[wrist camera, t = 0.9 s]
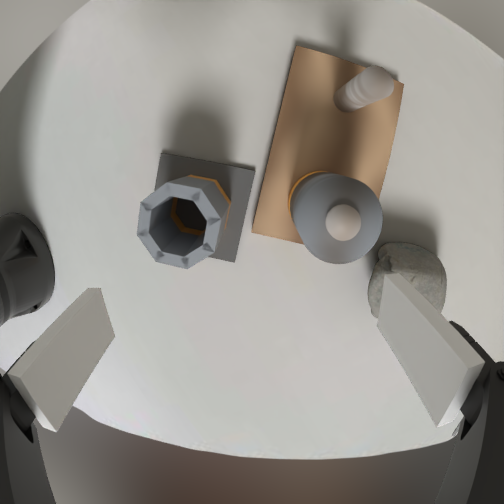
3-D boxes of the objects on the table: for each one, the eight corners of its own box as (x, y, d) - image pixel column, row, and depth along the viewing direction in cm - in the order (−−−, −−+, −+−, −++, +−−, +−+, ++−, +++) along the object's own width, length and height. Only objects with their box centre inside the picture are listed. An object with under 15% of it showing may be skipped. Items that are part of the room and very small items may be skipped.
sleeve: (163, 231, 30) (135, 256, 23) (173, 171, 28) (144, 178, 21) (222, 244, 31) (210, 274, 23) (235, 183, 29) (226, 194, 21)
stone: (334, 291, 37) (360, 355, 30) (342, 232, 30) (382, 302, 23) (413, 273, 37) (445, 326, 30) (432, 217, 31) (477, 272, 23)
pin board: (251, 228, 30) (248, 263, 21) (294, 50, 24) (309, 8, 15) (356, 253, 31) (391, 293, 22) (398, 86, 25) (447, 67, 15)
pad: (149, 241, 31) (147, 242, 31) (162, 153, 28) (161, 153, 28) (234, 261, 32) (234, 262, 31) (255, 170, 28) (255, 171, 28)
